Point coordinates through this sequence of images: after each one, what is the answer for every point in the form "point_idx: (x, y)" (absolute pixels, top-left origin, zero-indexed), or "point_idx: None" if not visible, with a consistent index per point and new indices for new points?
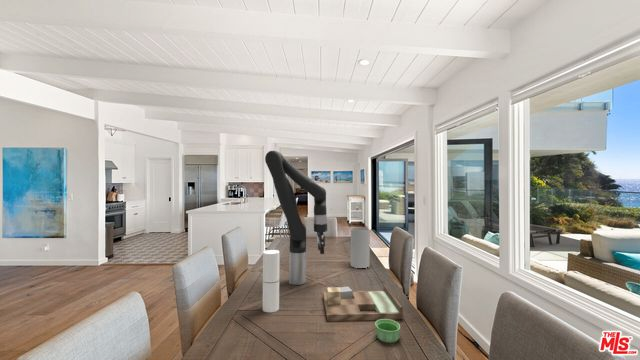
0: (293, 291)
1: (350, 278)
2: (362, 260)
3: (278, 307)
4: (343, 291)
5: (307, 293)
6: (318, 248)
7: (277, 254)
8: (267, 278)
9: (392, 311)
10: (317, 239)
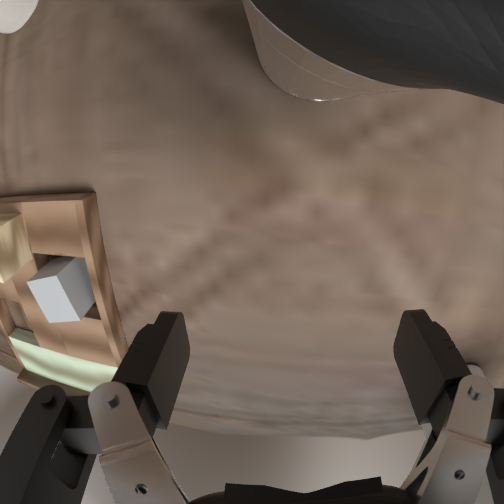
0: (159, 33)
1: (329, 350)
2: (427, 423)
3: (6, 32)
4: (32, 289)
5: (128, 111)
6: (412, 324)
7: None
8: None
9: (23, 360)
10: (431, 470)
